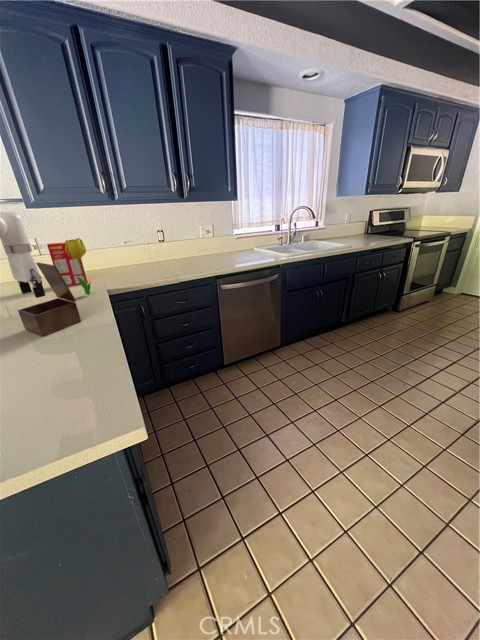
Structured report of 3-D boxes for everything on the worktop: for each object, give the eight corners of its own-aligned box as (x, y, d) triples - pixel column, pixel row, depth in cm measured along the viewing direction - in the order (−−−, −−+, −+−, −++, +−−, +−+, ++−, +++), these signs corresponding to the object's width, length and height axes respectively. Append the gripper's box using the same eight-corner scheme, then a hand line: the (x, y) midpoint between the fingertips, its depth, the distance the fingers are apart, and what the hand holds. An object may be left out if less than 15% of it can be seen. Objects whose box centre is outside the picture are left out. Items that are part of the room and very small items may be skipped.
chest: (42, 337, 101) (34, 316, 97) (25, 330, 107) (17, 310, 103) (81, 321, 114) (75, 302, 110) (64, 316, 119) (58, 297, 115)
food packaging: (87, 281, 170) (76, 241, 160) (87, 283, 166) (77, 242, 156) (60, 285, 163) (47, 243, 152) (60, 287, 159) (47, 244, 148)
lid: (53, 266, 100) (55, 265, 100) (35, 263, 105) (37, 262, 106) (74, 302, 109) (76, 301, 110) (57, 297, 115) (59, 296, 116)
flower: (90, 292, 150) (76, 237, 137) (100, 294, 146) (86, 238, 134) (76, 296, 143) (59, 239, 131) (85, 299, 140) (69, 240, 127)
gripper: (-6, 249, 95) (11, 294, 102) (18, 252, 88) (35, 301, 95) (18, 246, 101) (32, 289, 108) (42, 249, 94) (56, 295, 101)
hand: (33, 294), depth 101 cm, fingers open, 9 cm apart
